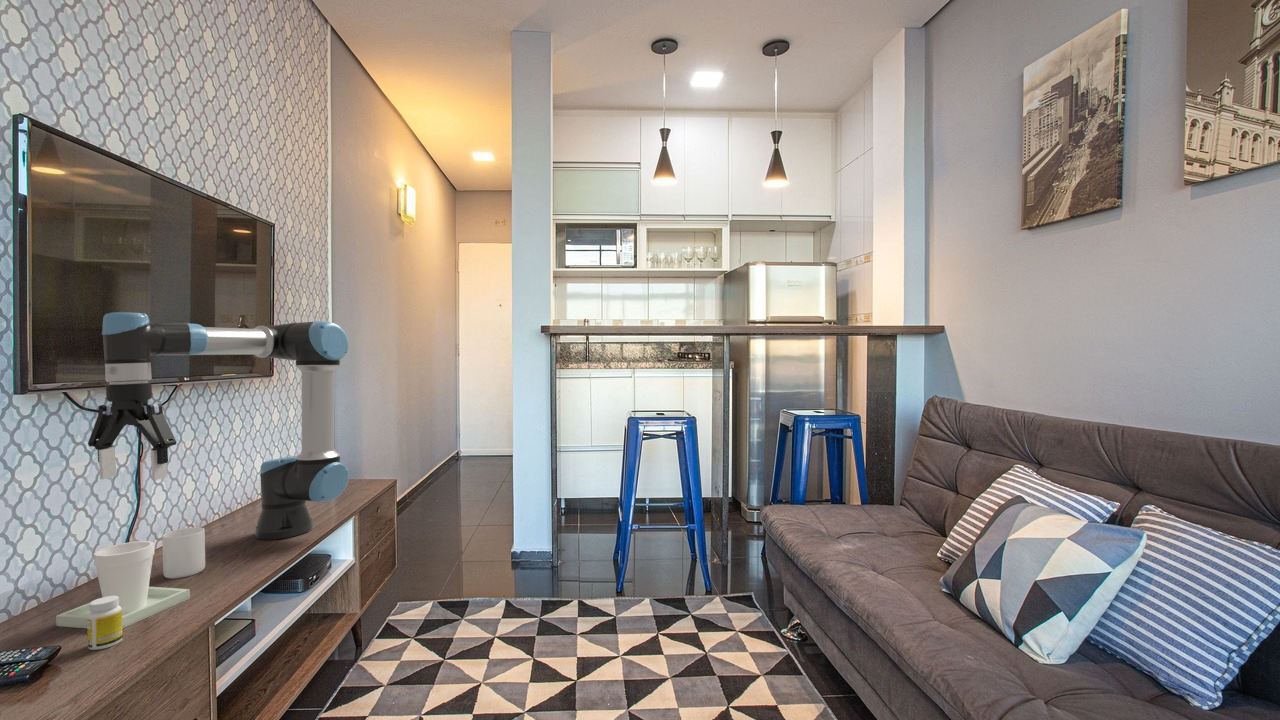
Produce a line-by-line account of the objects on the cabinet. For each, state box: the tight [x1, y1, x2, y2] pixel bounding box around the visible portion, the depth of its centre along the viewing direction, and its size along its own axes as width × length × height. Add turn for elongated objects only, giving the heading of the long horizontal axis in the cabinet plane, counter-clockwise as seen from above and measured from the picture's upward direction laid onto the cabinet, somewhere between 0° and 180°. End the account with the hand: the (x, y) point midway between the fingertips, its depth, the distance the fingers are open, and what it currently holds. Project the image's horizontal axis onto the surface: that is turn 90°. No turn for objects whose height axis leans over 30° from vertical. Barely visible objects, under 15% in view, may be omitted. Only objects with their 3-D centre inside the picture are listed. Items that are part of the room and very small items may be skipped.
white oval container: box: [161, 526, 206, 580], centre depth 143 cm, size 12×8×10 cm
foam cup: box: [93, 540, 155, 614], centre depth 120 cm, size 10×9×13 cm
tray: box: [55, 586, 191, 630], centre depth 120 cm, size 15×15×2 cm
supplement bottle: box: [87, 596, 124, 651], centre depth 106 cm, size 5×5×8 cm
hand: (133, 478), depth 124 cm, fingers open, 13 cm apart
